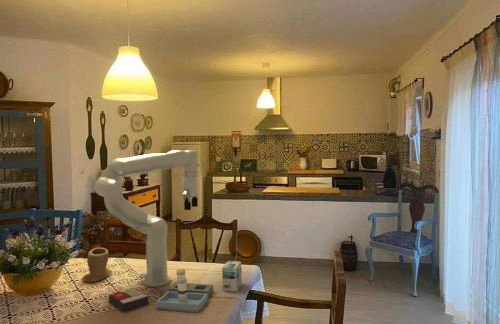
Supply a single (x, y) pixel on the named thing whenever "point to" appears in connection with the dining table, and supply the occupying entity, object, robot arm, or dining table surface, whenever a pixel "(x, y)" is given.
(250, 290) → the dining table surface
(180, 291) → the cylinder
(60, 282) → the dining table surface
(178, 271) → the fuse
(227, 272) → the light bulb box
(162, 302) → the parts tray
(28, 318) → the dining table surface
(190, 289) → the block
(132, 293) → the calculator
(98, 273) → the stone cup
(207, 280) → the dining table surface
